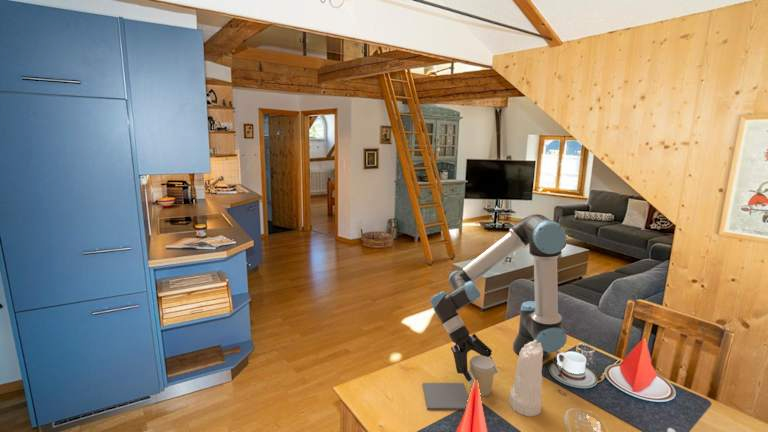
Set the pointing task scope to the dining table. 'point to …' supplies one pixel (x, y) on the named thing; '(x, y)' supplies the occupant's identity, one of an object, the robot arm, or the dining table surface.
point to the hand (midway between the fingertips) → (486, 380)
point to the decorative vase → (528, 381)
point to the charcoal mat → (445, 396)
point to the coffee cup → (483, 373)
